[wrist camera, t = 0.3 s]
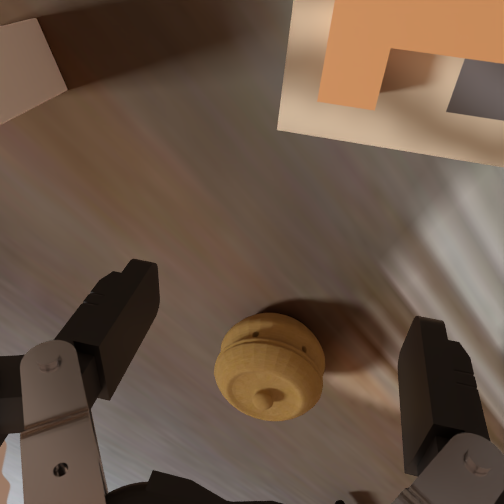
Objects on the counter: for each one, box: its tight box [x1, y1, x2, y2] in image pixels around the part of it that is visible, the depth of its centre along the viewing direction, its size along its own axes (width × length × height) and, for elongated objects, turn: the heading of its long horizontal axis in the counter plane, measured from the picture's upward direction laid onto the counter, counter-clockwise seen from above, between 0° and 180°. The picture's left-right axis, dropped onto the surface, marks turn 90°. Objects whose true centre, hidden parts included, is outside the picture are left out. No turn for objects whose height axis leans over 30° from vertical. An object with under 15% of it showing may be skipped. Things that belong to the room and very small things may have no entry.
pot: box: [214, 313, 325, 421], centre depth 48 cm, size 12×12×10 cm
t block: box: [317, 0, 504, 111], centre depth 28 cm, size 12×12×4 cm
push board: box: [277, 0, 504, 167], centre depth 30 cm, size 20×26×1 cm
